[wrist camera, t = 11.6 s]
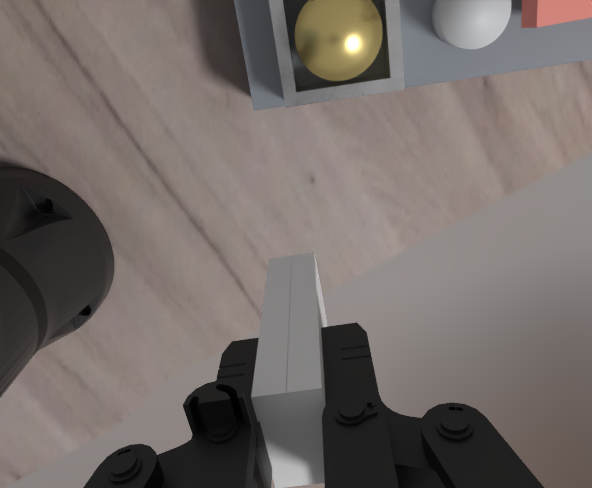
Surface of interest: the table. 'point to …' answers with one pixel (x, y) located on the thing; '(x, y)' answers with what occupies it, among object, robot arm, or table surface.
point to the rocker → (553, 12)
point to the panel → (422, 44)
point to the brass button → (338, 37)
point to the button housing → (346, 88)
